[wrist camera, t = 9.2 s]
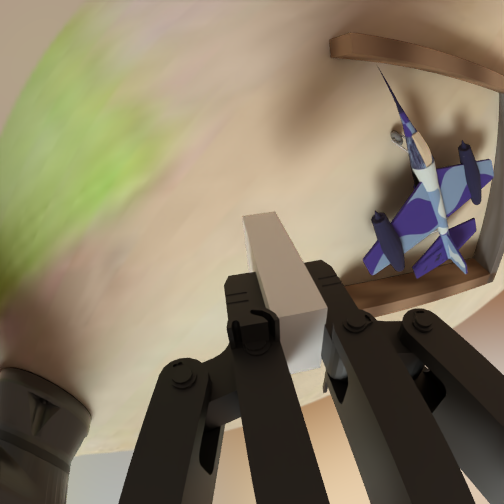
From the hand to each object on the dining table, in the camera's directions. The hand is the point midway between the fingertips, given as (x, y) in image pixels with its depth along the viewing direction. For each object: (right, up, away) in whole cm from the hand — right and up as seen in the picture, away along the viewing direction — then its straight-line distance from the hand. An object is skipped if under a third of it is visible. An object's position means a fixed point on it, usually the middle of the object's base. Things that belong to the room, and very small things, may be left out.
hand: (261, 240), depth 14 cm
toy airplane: (+11, +5, +5) cm, 13 cm away
